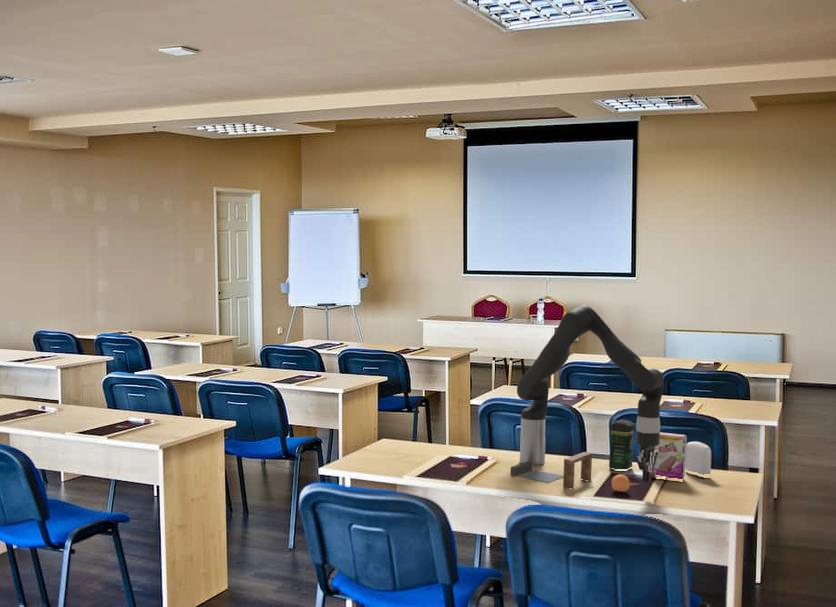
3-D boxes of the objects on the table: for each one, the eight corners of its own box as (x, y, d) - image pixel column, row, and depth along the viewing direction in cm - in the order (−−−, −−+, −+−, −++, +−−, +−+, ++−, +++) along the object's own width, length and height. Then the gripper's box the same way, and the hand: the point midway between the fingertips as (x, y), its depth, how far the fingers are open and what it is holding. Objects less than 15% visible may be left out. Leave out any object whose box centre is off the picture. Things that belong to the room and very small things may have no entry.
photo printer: (682, 473, 319) (684, 439, 318) (691, 471, 321) (693, 439, 320) (703, 479, 309) (704, 445, 309) (712, 478, 311) (713, 444, 311)
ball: (615, 488, 294) (616, 471, 294) (632, 492, 290) (632, 474, 290) (608, 492, 289) (608, 474, 289) (624, 495, 285) (625, 477, 285)
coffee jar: (627, 473, 315) (629, 423, 314) (606, 470, 319) (608, 421, 318) (634, 468, 324) (636, 419, 323) (613, 465, 328) (615, 417, 327)
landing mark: (535, 470, 316) (535, 470, 316) (564, 476, 309) (565, 475, 309) (518, 476, 307) (518, 476, 307) (548, 482, 300) (548, 482, 300)
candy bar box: (650, 479, 308) (652, 433, 308) (653, 476, 313) (654, 431, 312) (683, 483, 304) (685, 437, 303) (685, 480, 308) (686, 434, 307)
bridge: (563, 487, 294) (564, 459, 294) (583, 478, 306) (584, 451, 306) (570, 488, 293) (571, 460, 292) (591, 480, 304) (592, 453, 304)
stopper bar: (527, 469, 319) (527, 461, 318) (532, 470, 317) (532, 462, 317) (510, 475, 309) (510, 466, 309) (515, 476, 308) (515, 467, 308)
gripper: (645, 425, 290) (643, 476, 291) (628, 431, 280) (627, 483, 281) (666, 428, 286) (665, 480, 287) (650, 434, 275) (649, 487, 276)
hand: (646, 482), depth 284 cm, fingers closed
